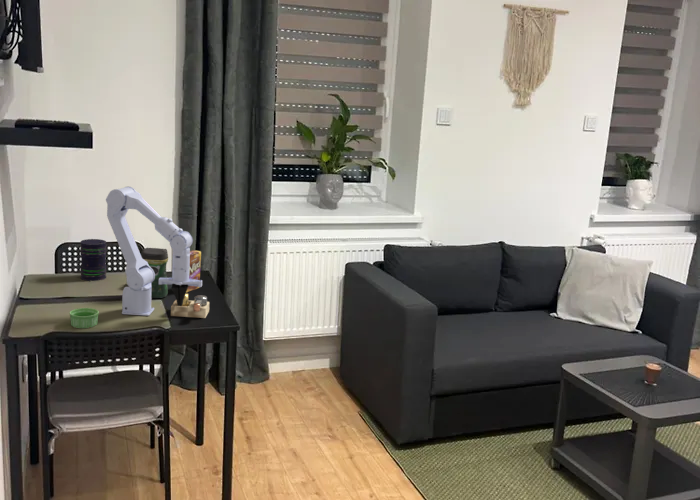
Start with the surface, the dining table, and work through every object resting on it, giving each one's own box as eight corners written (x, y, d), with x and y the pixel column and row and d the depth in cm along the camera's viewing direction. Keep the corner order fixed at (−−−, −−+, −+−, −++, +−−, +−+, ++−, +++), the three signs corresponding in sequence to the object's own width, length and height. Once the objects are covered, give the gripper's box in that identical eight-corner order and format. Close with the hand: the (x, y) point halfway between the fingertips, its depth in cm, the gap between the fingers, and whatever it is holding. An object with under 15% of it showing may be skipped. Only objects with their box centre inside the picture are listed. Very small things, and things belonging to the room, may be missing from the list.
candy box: (186, 293, 266) (187, 255, 262) (177, 291, 267) (178, 253, 264) (200, 288, 274) (201, 251, 270) (191, 286, 275) (192, 249, 272)
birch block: (170, 315, 238) (171, 306, 238) (175, 308, 246) (175, 299, 245) (205, 318, 239) (205, 308, 238) (209, 311, 247) (209, 301, 246)
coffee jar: (169, 293, 263) (170, 246, 259) (164, 299, 256) (165, 251, 252) (144, 292, 263) (144, 245, 259) (138, 298, 255) (139, 249, 251)
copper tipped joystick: (189, 311, 233) (189, 303, 233) (195, 302, 244) (195, 294, 243) (202, 312, 234) (202, 304, 233) (207, 302, 244) (208, 295, 244)
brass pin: (177, 314, 241) (177, 295, 239) (179, 311, 244) (179, 292, 242) (186, 314, 241) (187, 295, 239) (188, 312, 244) (189, 293, 242)
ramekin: (96, 319, 229) (96, 306, 228) (100, 328, 222) (100, 315, 221) (68, 321, 225) (67, 308, 224) (71, 330, 217) (71, 317, 217)
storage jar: (76, 279, 272) (75, 243, 268) (86, 273, 281) (86, 238, 278) (100, 281, 271) (100, 245, 268) (110, 275, 281) (110, 240, 278)
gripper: (156, 268, 229) (156, 307, 232) (200, 271, 230) (198, 310, 233) (161, 263, 236) (160, 301, 239) (203, 266, 237) (202, 303, 240)
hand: (179, 305), depth 237 cm, fingers closed
